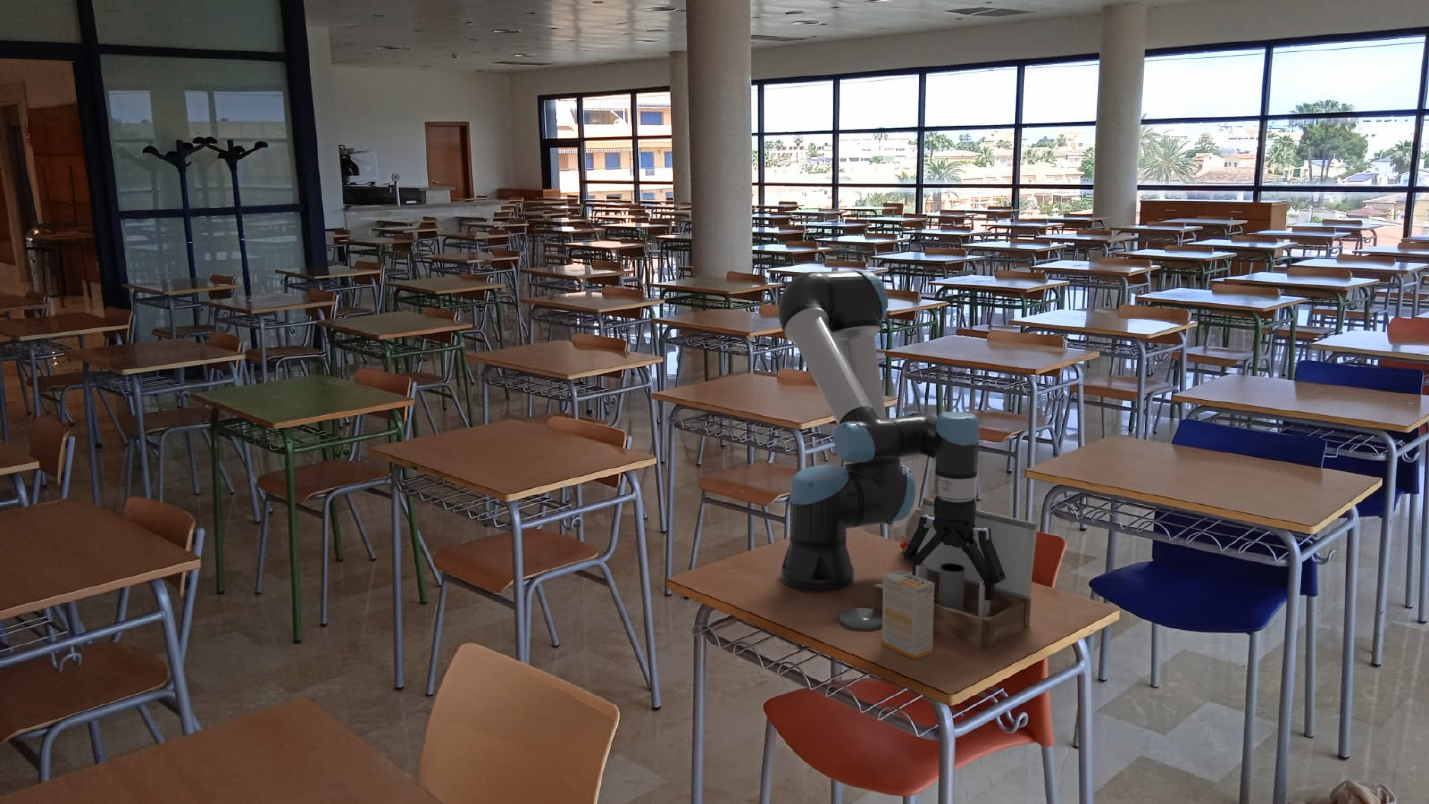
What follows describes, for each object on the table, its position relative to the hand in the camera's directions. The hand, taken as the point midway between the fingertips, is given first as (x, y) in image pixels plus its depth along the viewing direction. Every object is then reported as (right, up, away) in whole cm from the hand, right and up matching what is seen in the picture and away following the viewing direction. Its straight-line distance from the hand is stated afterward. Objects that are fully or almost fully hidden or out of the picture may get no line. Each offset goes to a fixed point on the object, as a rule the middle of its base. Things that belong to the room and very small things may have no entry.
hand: (951, 606), depth 197 cm
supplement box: (-11, -5, -12) cm, 17 cm away
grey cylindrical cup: (0, -3, +1) cm, 3 cm away
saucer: (-17, -3, 0) cm, 17 cm away
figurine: (0, +4, +35) cm, 35 cm away
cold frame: (0, -3, +1) cm, 3 cm away
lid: (+5, +10, +3) cm, 12 cm away
